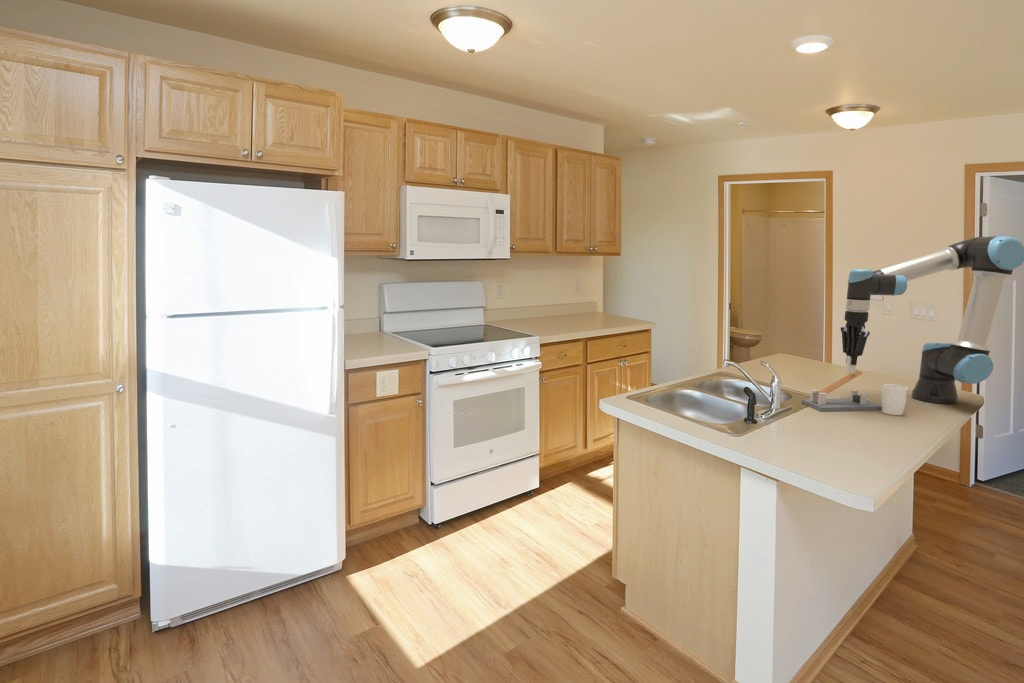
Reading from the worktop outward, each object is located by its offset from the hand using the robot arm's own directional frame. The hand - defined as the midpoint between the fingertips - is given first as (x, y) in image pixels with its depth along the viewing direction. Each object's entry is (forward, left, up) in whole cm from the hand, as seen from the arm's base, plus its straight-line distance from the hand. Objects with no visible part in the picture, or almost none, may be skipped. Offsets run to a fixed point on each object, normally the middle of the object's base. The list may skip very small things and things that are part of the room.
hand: (850, 372), depth 219 cm
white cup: (-11, +10, -13) cm, 20 cm away
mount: (+2, 0, -13) cm, 13 cm away
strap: (+4, 0, -5) cm, 7 cm away
